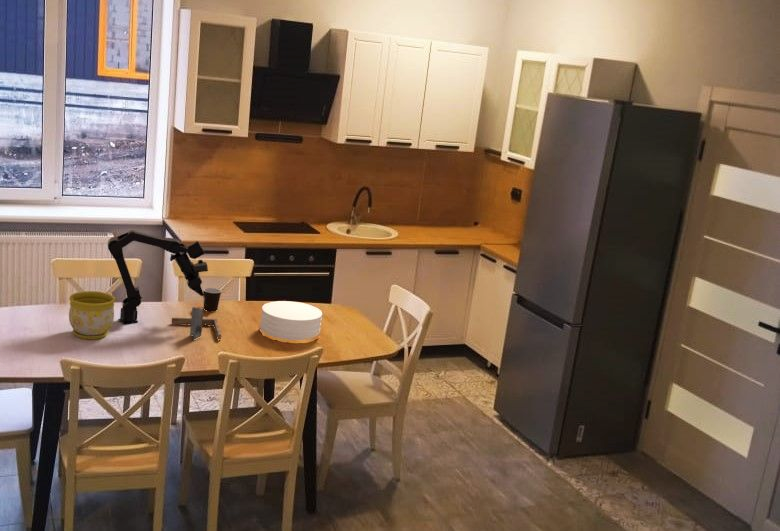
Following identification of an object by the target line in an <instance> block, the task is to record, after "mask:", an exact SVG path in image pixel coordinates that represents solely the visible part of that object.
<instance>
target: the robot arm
mask: <svg viewBox="0 0 780 531" xmlns="http://www.w3.org/2000/svg"><path fill="white" fill-rule="evenodd" d="M132 242H137V243H141V244H145V245H150V246H153V247H157V248H160V249H162V250H164V251H166V252H168V253H170V256H169V260H170V262H172V261H175V263H176V264H177V266H178V267H179V269H180V272H181V273H182V275H183V276H184V278H185V280H186V281H187V282H186V284H187V286H188V288H189V289H191V290H192V291H194V292H195V293H196V294H198V295H199V296H201V297H203V295H204V294H203V288H202V284H203V282H202V281H203V280H202V278H201V277H200V273H202V272H209V270H208V269H209V268H208V263H207V262H206V261H204V260H203V259H199V258H200V257H201V256H203V255H205V254H206V252H205V250H204V249H203V247H202V245H201V244H200V242H199V241H198V240H196V241H194V242H193V243H191V244H189V245H187V244H184V243H182V242H180V239H178V238H174V237H159V236H155V235H152V234H147V233H143V232H140V231H136V230H134V229H133V230H129V231H128V232H125V233H122V234H120V235H118V236H113V237H110V238H109V240H108V241H107V249H108V251H109V253H110V254H111V257H113V259H114V260H115V263H116V266H117V269H118V271H119V274H120V276H121V280H122V281H123V282H122V283H123V285H124V287H125V293H126V297H125V298H124V299H123V300H122V301H121V304H122V307H121V308H120V312H119V313H120V314H119V317H120V318H118V319H117V320H118V321H119V322H120V323H122V324H124V325H129V324H137V323H139V321H138V314H139V313H138V312H139V311H138V307H139V306H140V305H141V304H142V299H143V295H142V293H141V291H140V287H139V286H137V287H136V286H135V284H134V281H133V279H132V276H131V273H130V270H129V268H128V266H127V262H126V259H125V257H124V250H123V248H124V247H127V246H129V244H130V243H132ZM197 258H198V259H199V260H198V261H197V262H196V263H194V262H192V261H191V259H192V260H196V259H197Z"/></svg>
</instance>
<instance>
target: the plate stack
mask: <svg viewBox="0 0 780 531" xmlns="http://www.w3.org/2000/svg"><path fill="white" fill-rule="evenodd" d="M322 318H323V312H322V310H321V309H319V308H318V307H316V306H314V305H311V304H308V303H303V302H299V301H289V300H288V301H287V300H277V301H270V302H267V303H265V304H263V305H262V307H261V317H260V324H259V328H260V327H261V329H262V331H263V332H264V333H266V334H268V335H270V336H273V337H277V338H281V339H287V340H288V339H289V340H303V339H310V338H313V337H315V336H317V335H318V334H319V333H321V327H322Z"/></svg>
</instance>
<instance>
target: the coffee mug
mask: <svg viewBox="0 0 780 531" xmlns="http://www.w3.org/2000/svg"><path fill="white" fill-rule="evenodd" d="M202 291H203V294H204V295H203V296H202V297H203V310H204V309H205V310H207V311H216V310H217V311H218V308H219V304H220V299H221V294H222V290H221V289H219V288H216V287H206V288H202ZM205 310H204V311H205ZM207 311H206V312H207ZM217 311H216V312H217Z"/></svg>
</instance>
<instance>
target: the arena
mask: <svg viewBox="0 0 780 531" xmlns="http://www.w3.org/2000/svg"><path fill="white" fill-rule="evenodd" d="M172 324H191V317H171V325H172ZM205 324H206V325H214V326H213V328H214V327H215V329H214V331H215V330H216V332H215V335H216V334H217V336H216V338H217V337H218V339H221V340H222V332H221V330H220V325H219V323H218V319H217V318H203V320H202V325H205ZM218 339H217V340H218Z"/></svg>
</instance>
